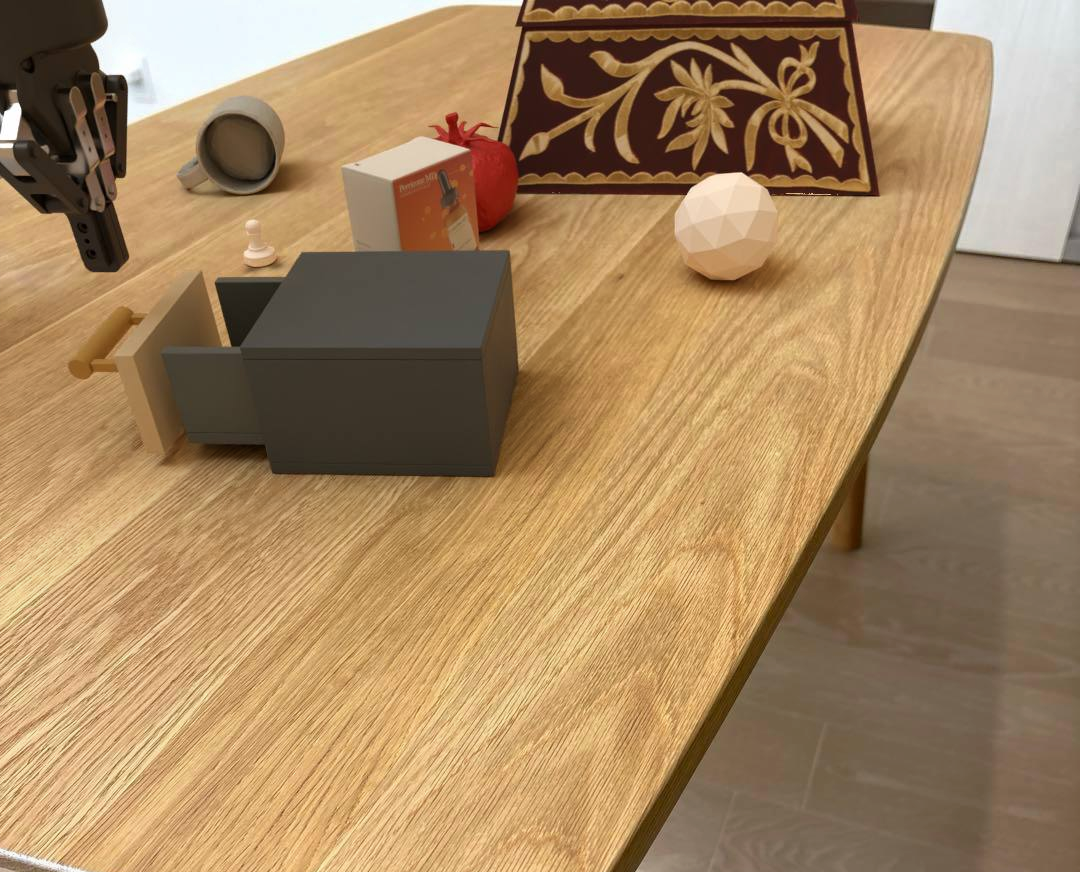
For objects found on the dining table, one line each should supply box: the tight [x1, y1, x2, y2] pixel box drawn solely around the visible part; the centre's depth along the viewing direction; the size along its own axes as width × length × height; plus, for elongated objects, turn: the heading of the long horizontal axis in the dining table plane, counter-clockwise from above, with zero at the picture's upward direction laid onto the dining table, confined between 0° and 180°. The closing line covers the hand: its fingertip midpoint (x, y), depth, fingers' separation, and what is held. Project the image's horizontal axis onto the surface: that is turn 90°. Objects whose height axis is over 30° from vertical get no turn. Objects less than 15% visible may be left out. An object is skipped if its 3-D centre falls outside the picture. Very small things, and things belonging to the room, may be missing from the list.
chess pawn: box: [243, 219, 277, 268], centre depth 88 cm, size 3×3×4 cm
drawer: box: [67, 269, 286, 455], centre depth 67 cm, size 17×11×7 cm
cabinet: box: [240, 249, 520, 477], centre depth 66 cm, size 14×13×9 cm
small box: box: [340, 135, 481, 252], centre depth 79 cm, size 8×6×10 cm
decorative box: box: [496, 0, 881, 197], centre depth 97 cm, size 35×19×20 cm, turn 81°
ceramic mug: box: [176, 94, 286, 195], centre depth 102 cm, size 11×8×8 cm
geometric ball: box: [674, 172, 779, 281], centre depth 80 cm, size 8×8×8 cm
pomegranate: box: [427, 111, 518, 233], centre depth 91 cm, size 10×10×9 cm
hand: (108, 267), depth 64 cm, fingers closed
